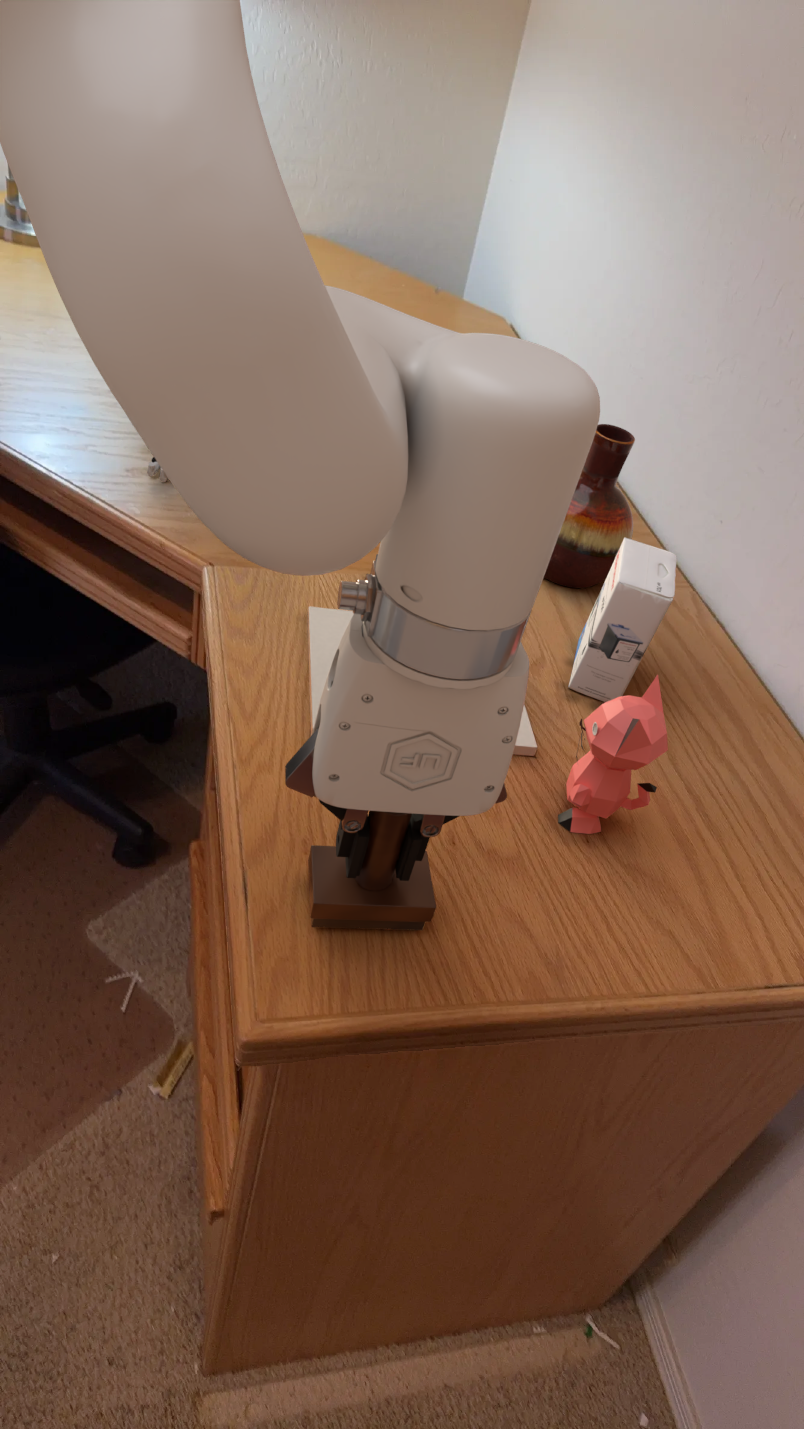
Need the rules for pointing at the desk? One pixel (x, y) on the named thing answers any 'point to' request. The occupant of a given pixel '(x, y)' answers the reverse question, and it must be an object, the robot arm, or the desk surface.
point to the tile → (322, 647)
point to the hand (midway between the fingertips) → (376, 859)
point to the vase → (594, 515)
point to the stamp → (371, 883)
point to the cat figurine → (615, 759)
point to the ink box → (623, 620)
